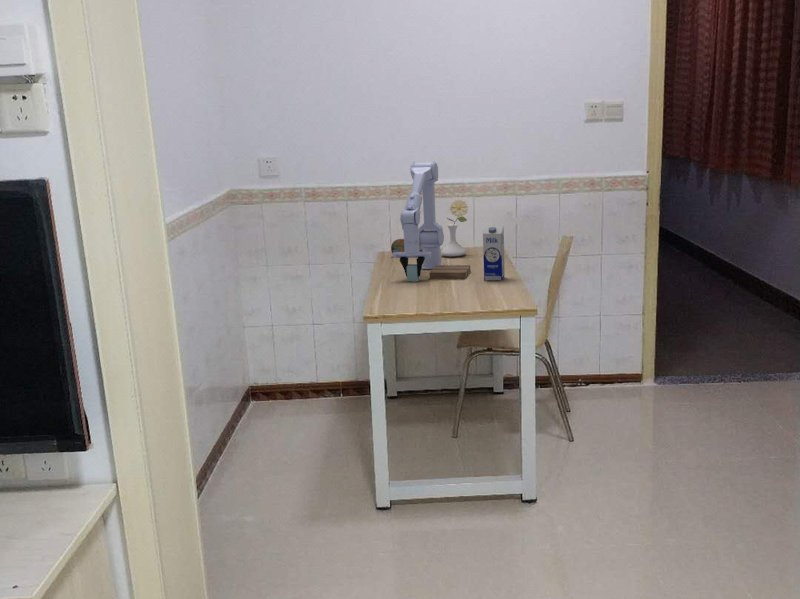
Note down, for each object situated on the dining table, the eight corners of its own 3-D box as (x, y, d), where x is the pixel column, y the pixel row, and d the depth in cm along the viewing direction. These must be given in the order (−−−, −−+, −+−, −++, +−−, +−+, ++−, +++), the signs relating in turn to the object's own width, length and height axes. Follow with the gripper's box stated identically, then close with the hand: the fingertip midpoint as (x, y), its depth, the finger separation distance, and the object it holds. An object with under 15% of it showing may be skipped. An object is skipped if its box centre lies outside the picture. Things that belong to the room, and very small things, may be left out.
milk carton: (505, 277, 303) (503, 225, 298) (502, 281, 296) (501, 228, 292) (486, 277, 305) (485, 225, 300) (483, 280, 298) (482, 228, 294)
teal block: (409, 279, 308) (408, 264, 306) (419, 279, 307) (418, 264, 306) (407, 281, 304) (406, 266, 303) (417, 281, 303) (416, 266, 302)
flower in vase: (437, 258, 347) (435, 201, 341) (444, 253, 357) (442, 197, 351) (467, 258, 343) (465, 200, 337) (472, 253, 353) (470, 197, 347)
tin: (391, 257, 354) (390, 239, 352) (392, 256, 357) (391, 238, 355) (424, 257, 350) (423, 238, 348) (425, 256, 353) (424, 237, 351)
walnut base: (435, 271, 319) (435, 265, 319) (470, 271, 316) (470, 265, 316) (429, 279, 306) (429, 272, 305) (465, 279, 303) (465, 272, 302)
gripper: (390, 243, 300) (392, 278, 303) (428, 242, 296) (429, 278, 300) (394, 240, 306) (396, 274, 310) (431, 239, 303) (433, 274, 306)
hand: (413, 276), depth 305 cm, fingers closed on teal block, 4 cm apart
